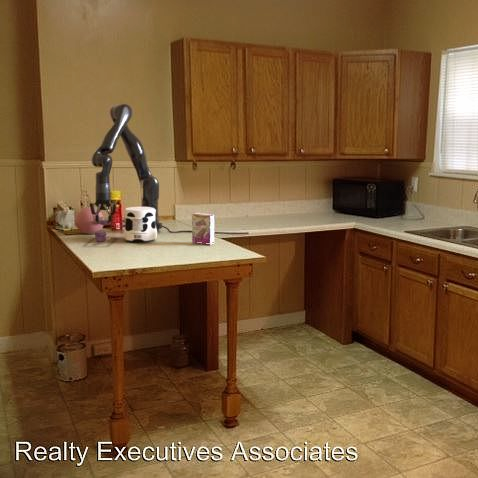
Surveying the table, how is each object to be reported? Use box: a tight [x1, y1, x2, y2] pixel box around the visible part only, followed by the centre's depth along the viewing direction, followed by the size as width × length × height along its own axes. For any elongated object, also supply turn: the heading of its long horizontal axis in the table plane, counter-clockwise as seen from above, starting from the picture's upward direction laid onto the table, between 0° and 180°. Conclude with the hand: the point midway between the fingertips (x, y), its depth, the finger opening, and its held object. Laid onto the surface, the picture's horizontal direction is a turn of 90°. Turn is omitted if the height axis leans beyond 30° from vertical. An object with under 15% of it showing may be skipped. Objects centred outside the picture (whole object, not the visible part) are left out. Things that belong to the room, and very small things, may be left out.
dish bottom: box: [94, 235, 107, 243], centre depth 322 cm, size 6×6×3 cm
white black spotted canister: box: [123, 206, 158, 244], centre depth 326 cm, size 17×17×18 cm
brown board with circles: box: [90, 237, 112, 247], centre depth 322 cm, size 12×22×1 cm, turn 5°
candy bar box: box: [191, 212, 215, 246], centre depth 325 cm, size 11×5×16 cm, turn 71°
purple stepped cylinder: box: [94, 230, 107, 237], centre depth 321 cm, size 6×6×3 cm
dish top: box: [98, 218, 110, 226], centre depth 328 cm, size 6×6×3 cm
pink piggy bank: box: [74, 206, 105, 235], centre depth 340 cm, size 15×20×15 cm
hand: (103, 222), depth 328 cm, fingers closed on dish top, 5 cm apart
